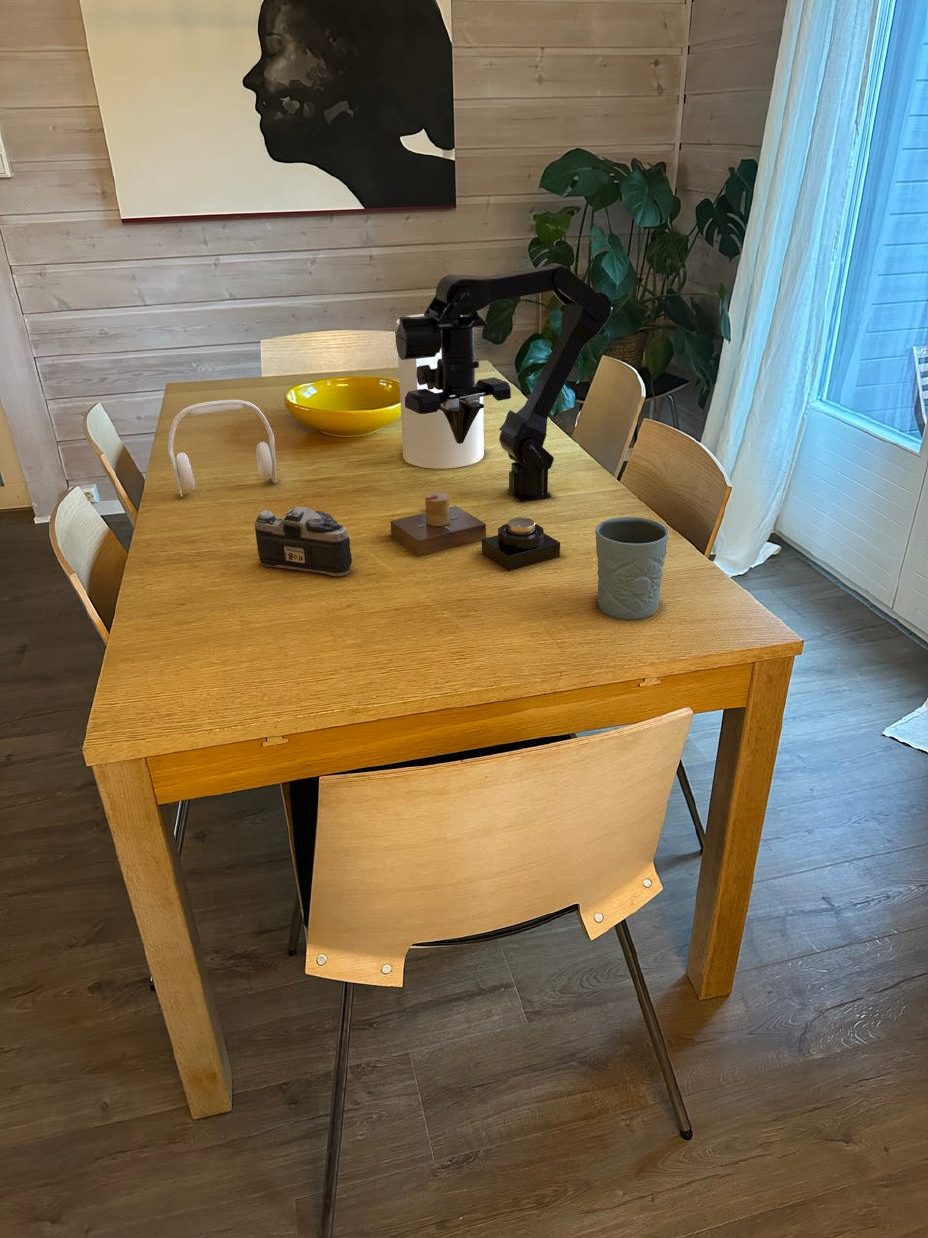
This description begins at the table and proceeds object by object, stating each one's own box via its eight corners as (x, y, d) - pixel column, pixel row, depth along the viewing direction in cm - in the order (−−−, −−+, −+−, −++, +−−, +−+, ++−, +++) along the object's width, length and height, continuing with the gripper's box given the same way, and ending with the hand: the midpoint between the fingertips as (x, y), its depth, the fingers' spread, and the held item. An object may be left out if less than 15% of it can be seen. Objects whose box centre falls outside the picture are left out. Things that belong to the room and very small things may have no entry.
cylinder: (386, 460, 191) (378, 323, 178) (432, 439, 204) (427, 310, 191) (455, 473, 183) (452, 331, 170) (498, 450, 196) (498, 316, 183)
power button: (524, 525, 148) (524, 515, 147) (539, 534, 145) (540, 524, 144) (502, 531, 146) (502, 521, 145) (517, 540, 143) (517, 529, 142)
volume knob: (440, 515, 155) (440, 489, 153) (454, 522, 152) (453, 495, 150) (421, 521, 153) (420, 494, 151) (434, 528, 150) (433, 501, 148)
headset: (178, 504, 170) (161, 411, 162) (174, 492, 176) (158, 402, 167) (283, 489, 177) (272, 399, 168) (276, 478, 182) (265, 390, 174)
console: (456, 521, 161) (455, 504, 159) (486, 540, 153) (486, 522, 152) (391, 537, 155) (390, 519, 154) (418, 557, 147) (418, 539, 146)
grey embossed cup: (645, 628, 125) (652, 549, 120) (579, 611, 130) (583, 534, 124) (671, 599, 133) (679, 524, 127) (608, 584, 138) (613, 510, 132)
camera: (370, 555, 148) (366, 497, 144) (342, 581, 140) (337, 521, 135) (285, 543, 153) (278, 487, 148) (253, 568, 145) (245, 509, 140)
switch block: (531, 541, 153) (532, 516, 150) (559, 557, 147) (560, 531, 144) (481, 554, 148) (481, 528, 146) (508, 571, 142) (508, 545, 140)
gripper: (479, 340, 165) (479, 424, 172) (387, 352, 156) (392, 440, 164) (513, 350, 156) (512, 438, 164) (419, 364, 148) (422, 456, 155)
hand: (459, 442), depth 162 cm, fingers closed
